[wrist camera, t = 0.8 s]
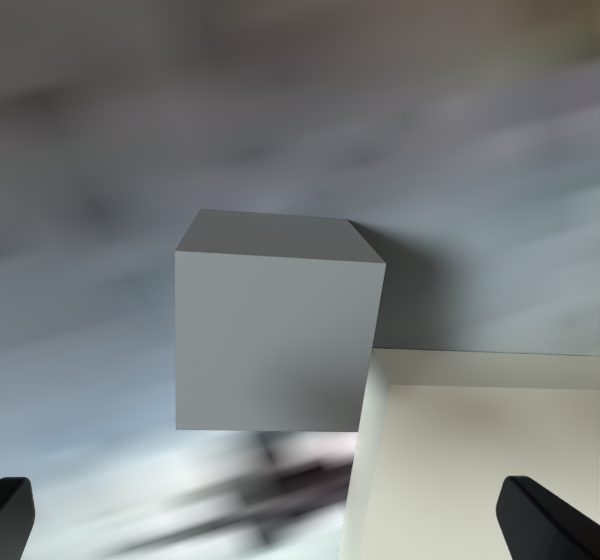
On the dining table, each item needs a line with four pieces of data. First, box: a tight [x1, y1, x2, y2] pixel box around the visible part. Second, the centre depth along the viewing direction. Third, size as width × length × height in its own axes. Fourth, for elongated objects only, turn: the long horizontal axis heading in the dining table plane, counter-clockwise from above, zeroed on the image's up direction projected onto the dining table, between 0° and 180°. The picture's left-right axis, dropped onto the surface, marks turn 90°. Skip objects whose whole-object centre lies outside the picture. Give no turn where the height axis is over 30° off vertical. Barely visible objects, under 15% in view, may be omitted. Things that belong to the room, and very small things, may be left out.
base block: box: [337, 348, 600, 560], centre depth 23 cm, size 16×14×3 cm
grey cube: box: [175, 209, 386, 432], centre depth 16 cm, size 6×6×6 cm
